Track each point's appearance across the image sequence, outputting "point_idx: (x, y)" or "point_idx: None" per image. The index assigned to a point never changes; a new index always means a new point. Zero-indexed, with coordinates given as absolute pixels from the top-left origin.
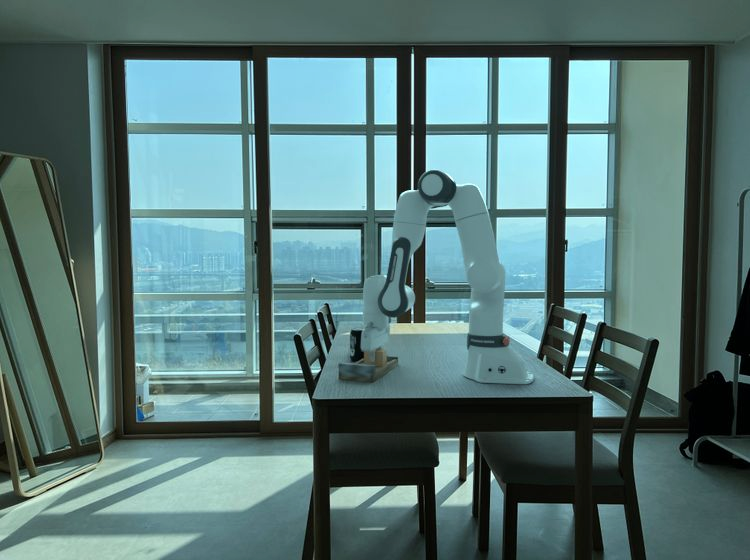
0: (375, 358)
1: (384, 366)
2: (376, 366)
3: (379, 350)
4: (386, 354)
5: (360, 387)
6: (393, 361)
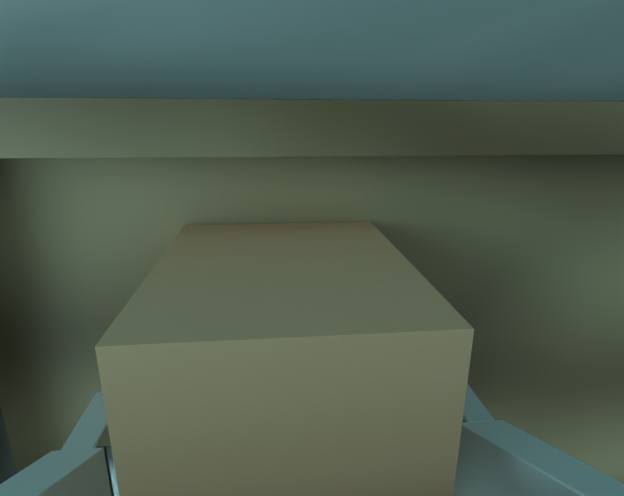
0: None
1: (587, 132)
2: None
3: (284, 489)
4: (154, 285)
5: None
6: (144, 101)
